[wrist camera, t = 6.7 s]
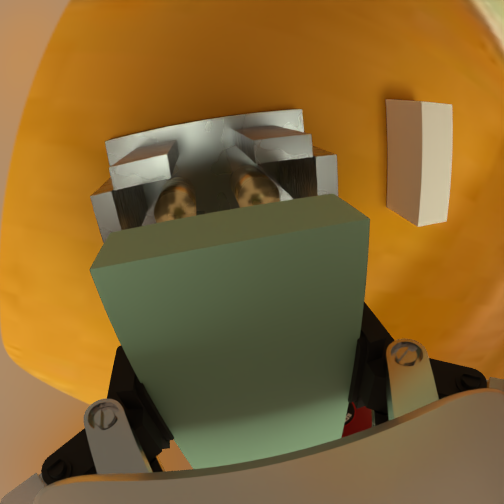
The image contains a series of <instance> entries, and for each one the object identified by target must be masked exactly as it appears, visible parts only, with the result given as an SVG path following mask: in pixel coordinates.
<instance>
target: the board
mask: <svg viewBox="0 0 504 504" xmlns="http://www.w3.org/2000/svg"><path fill="white" fill-rule="evenodd" d="M369 226H370V219H369V218H368V217H367V216H365V215H364V214H362V213H361V212H359V211H358V210H357V209H355V208H354V207H352V206H351V205H349V204H348V203H346V202H345V201H344V200H342V199H341V198H339V197H338V196H336V195H335V194H326V195H319V196H312V197H305V198H298V199H292V200H285V201H279V202H272V203H266V204H260V205H254V206H248V207H242V208H236V209H230V210H224V211H219V212H213V213H207V214H202V215H196V216H191V217H186V218H180V219H175V220H170V221H165V222H160V223H155V224H150V225H145V226H140V227H135V228H130V229H126V230H121V231H116V232H112V233H110V234H109V236H108V238H107V239H106V241H105V243H104V244H103V246H102V248H101V250H100V252H99V253H98V255H97V257H96V259H95V261H94V262H93V264H92V266H91V268H90V272H91V275H92V278H93V280H94V283H95V285H96V288H97V291H98V293H99V295H100V298H101V300H102V303H103V305H104V308H105V310H106V312H107V315H108V317H109V319H110V321H111V324H112V326H113V328H114V330H115V333H116V335H117V337H118V339H119V341H120V343H121V345H122V348H123V350H124V352H125V354H126V356H127V358H128V360H129V362H130V364H131V366H132V368H133V370H134V372H135V373H136V375H137V377H138V379H139V381H140V383H143V384H144V386H145V388H146V390H147V392H148V394H149V395H150V397H151V399H152V401H153V403H154V404H155V406H156V408H157V409H158V411H159V413H160V415H161V416H162V418H163V420H164V421H165V423H166V425H167V426H168V428H169V430H170V431H171V433H172V434H173V436H174V441H175V442H176V444H177V445H178V447H179V448H180V450H181V451H182V453H183V454H184V456H185V457H186V459H187V460H188V461H189V463H190V464H191V466H192V467H193V469H201V468H209V467H217V466H224V465H230V464H236V463H242V462H248V461H253V460H259V459H263V458H268V457H273V456H277V455H282V454H286V453H290V452H294V451H298V450H302V449H306V448H309V447H313V446H317V445H320V444H323V443H327V442H330V441H333V440H337V439H340V438H341V437H342V432H343V428H344V423H345V419H346V414H347V409H348V404H349V402H348V395H349V390H350V384H351V378H352V372H353V366H354V360H355V353H356V346H357V339H359V338H360V331H361V323H362V315H363V306H364V297H365V286H366V275H367V262H368V246H369Z"/></svg>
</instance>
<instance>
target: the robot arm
mask: <svg viewBox="0 0 504 504" xmlns="http://www.w3.org/2000/svg"><path fill="white" fill-rule="evenodd" d="M348 402H349V403H351V402H353V403H354V405H355V407H356V408H357V409H358V408H361V407H364V406H366V408H368V409H371V414H372V428H369V429H366V430H363V431H361V432H358V433H355V434H352V435H349V436H346V437H343V438H340V439H337V440H333V441H330V442H327V443H323V444H320V445H317V446H313V447H309V448H306V449H302V450H298V451H294V452H290V453H286V454H282V455H277V456H273V457H268V458H263V459H259V460H253V461H248V462H242V463H236V464H230V465H224V466H217V467H209V468H201V469H192V470H181V471H168V472H165V470H164V468H163V466H162V464H161V462H160V460H159V457H158V454H160V453H161V452H162V449H166V448H170V440H173V439H174V436H173V434H172V433H171V431H170V430H169V428H168V426H167V425H166V423H165V421H164V420H163V418H162V416H161V415H160V413H159V411H158V409H157V408H156V406H155V404H154V403H153V401H152V399H151V397H150V395H149V394H148V392H147V390H146V388H145V386H144V384H143V383H140V381H139V379H138V377H137V375H136V373H135V372H134V370H133V368H132V366H131V364H130V362H129V360H128V358H127V356H126V354H125V352H124V350H123V348H122V346H119V347H118V348H117V351H116V356H115V360H114V365H113V370H112V375H111V380H110V385H109V390H108V396H107V399H101V400H98V401H96V402H94V403H93V404H91V405H90V406H89V407H88V409H87V410H86V412H85V415H84V426H85V429H83V430H82V431H81V432H79V433H78V434H77V435H76V436H74V437H73V438H72V439H71V440H69V441H68V442H67V443H65V444H64V445H63V446H62V447H60V448H59V449H58V450H57V451H55V452H54V453H53V454H52V455H50V456H49V457H48V458H47V459H46V460H45V462H44V464H43V465H42V470H41V472H42V473H41V474H40V475H38V474H37V473H35V474H34V475H32V476H31V477H30V478H29V479H27V480H26V481H24V482H23V483H22V484H20V485H19V486H18V487H16V488H15V489H13V490H12V491H11V492H9V493H8V494H7V495H5V496H4V497H3V498H2V501H1V503H0V504H504V380H503V379H498V378H493V377H490V378H489V380H486V378H485V377H484V375H483V374H482V373H481V372H479V371H478V370H476V369H473V368H469V367H465V366H460V365H456V364H452V363H447V362H443V361H439V360H435V359H431V358H429V357H428V354H427V351H426V349H425V347H424V346H423V345H422V344H421V343H419V342H417V341H415V340H412V339H398V340H396V341H394V339H393V338H392V337H391V335H390V334H389V333H388V332H387V330H386V329H385V328H384V326H383V325H382V324H381V323H380V321H379V320H378V319H377V317H376V316H375V315H374V314H373V312H372V311H371V310H370V308H369V307H368V306H367V305H366V303H365V302H364V306H363V315H362V323H361V331H360V338H359V339H357V346H356V353H355V360H354V366H353V372H352V378H351V384H350V390H349V395H348Z"/></svg>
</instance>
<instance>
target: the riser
mask: <svg viewBox="0 0 504 504" xmlns="http://www.w3.org/2000/svg"><path fill="white" fill-rule="evenodd" d="M386 116H387V149H388V175H387V207H388V208H389V209H391V210H392V211H394V212H396V213H397V214H399V215H400V216H402V217H404V218H405V219H407V220H408V221H410V222H411V223H413V224H414V225H416V226H418V227H419V226H424V225H430V224H435V223H440V222H445V221H447V214H448V205H449V195H450V183H451V167H452V136H453V123H452V105H451V104H442V103H433V102H423V101H410V100H393V99H386Z"/></svg>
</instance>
